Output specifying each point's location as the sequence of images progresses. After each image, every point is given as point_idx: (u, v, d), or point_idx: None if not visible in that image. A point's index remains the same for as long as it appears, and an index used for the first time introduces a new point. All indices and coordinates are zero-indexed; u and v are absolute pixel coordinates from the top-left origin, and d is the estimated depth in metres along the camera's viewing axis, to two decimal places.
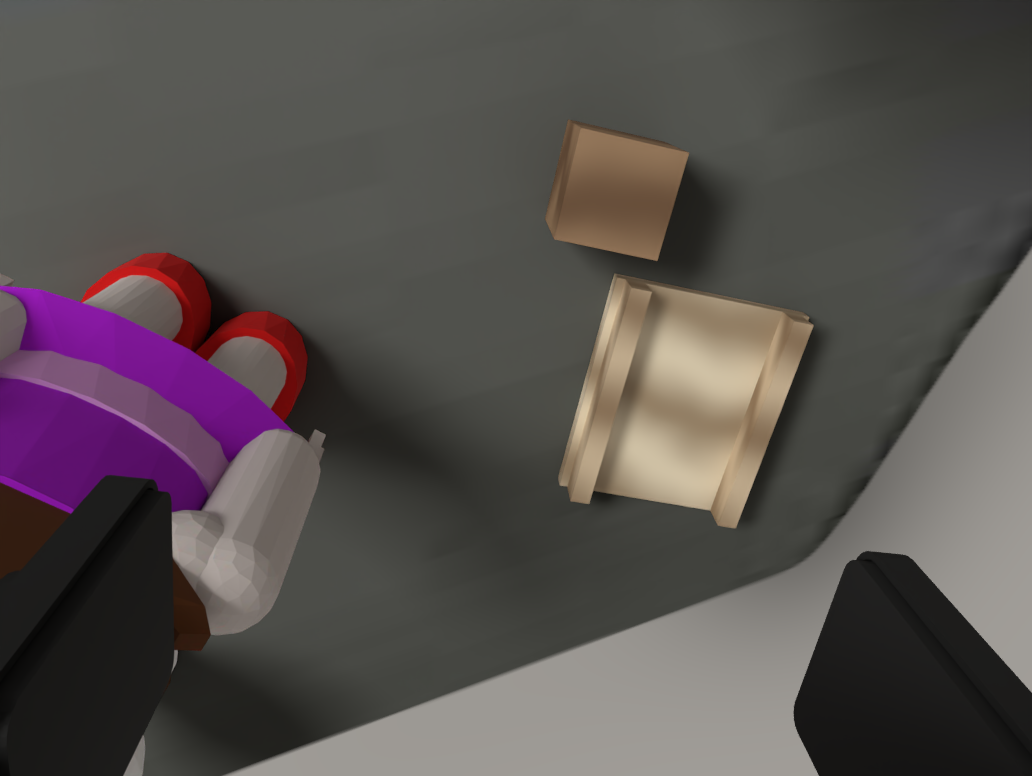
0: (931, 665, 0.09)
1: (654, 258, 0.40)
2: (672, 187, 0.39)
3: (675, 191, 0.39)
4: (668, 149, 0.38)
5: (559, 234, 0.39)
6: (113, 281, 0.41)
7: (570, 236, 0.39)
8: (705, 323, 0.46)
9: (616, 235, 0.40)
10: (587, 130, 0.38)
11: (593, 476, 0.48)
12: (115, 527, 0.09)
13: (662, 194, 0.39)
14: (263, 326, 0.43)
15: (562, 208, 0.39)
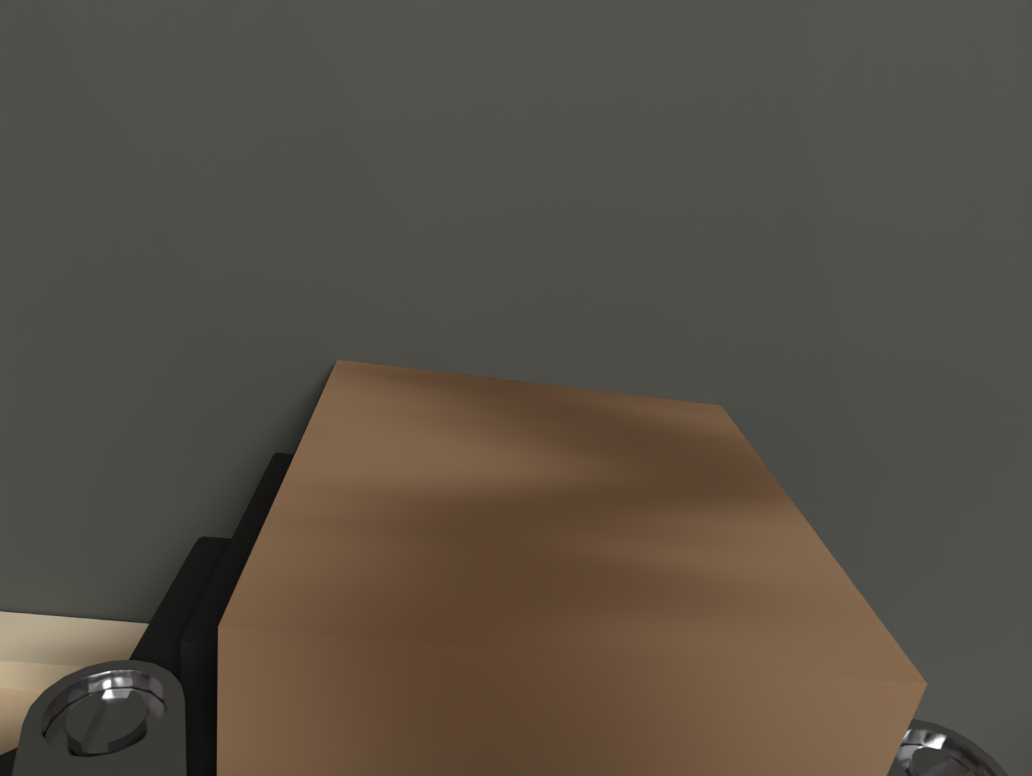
0: None
1: None
2: None
3: None
4: None
5: (258, 651, 0.06)
6: None
7: (261, 712, 0.06)
8: None
9: None
10: (907, 715, 0.06)
11: None
12: None
13: None
14: None
15: (437, 647, 0.06)
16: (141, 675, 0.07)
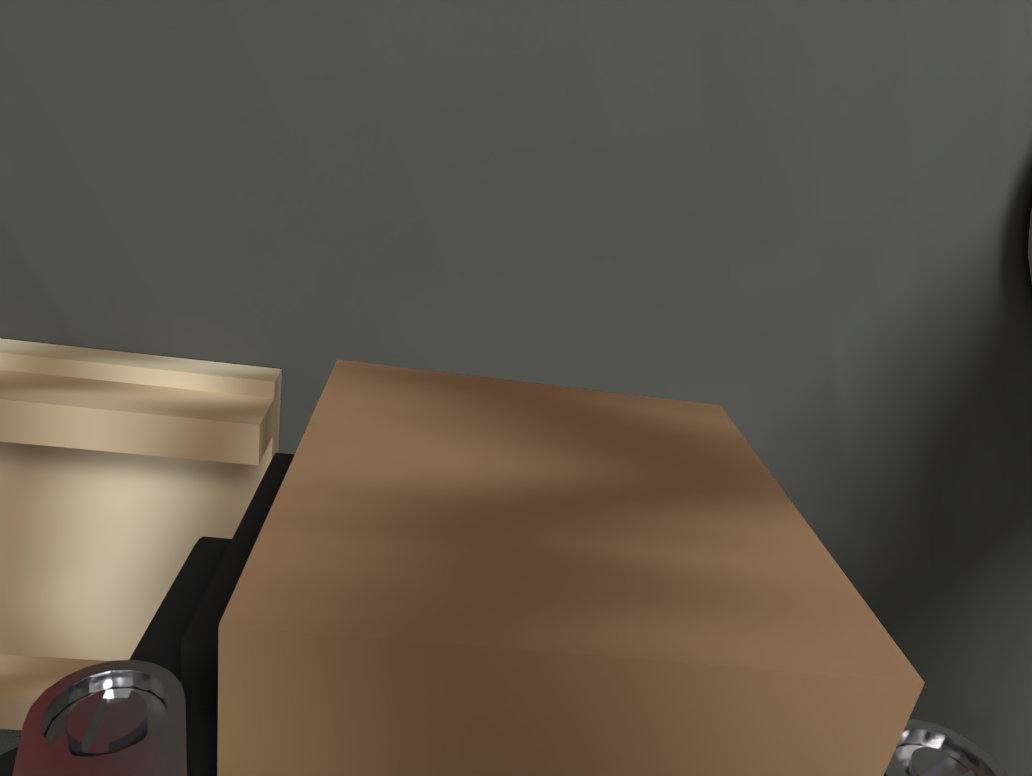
0: None
1: None
2: None
3: None
4: None
5: (258, 650, 0.06)
6: None
7: (261, 711, 0.06)
8: None
9: None
10: (905, 714, 0.06)
11: None
12: None
13: None
14: None
15: (436, 646, 0.06)
16: (142, 675, 0.07)
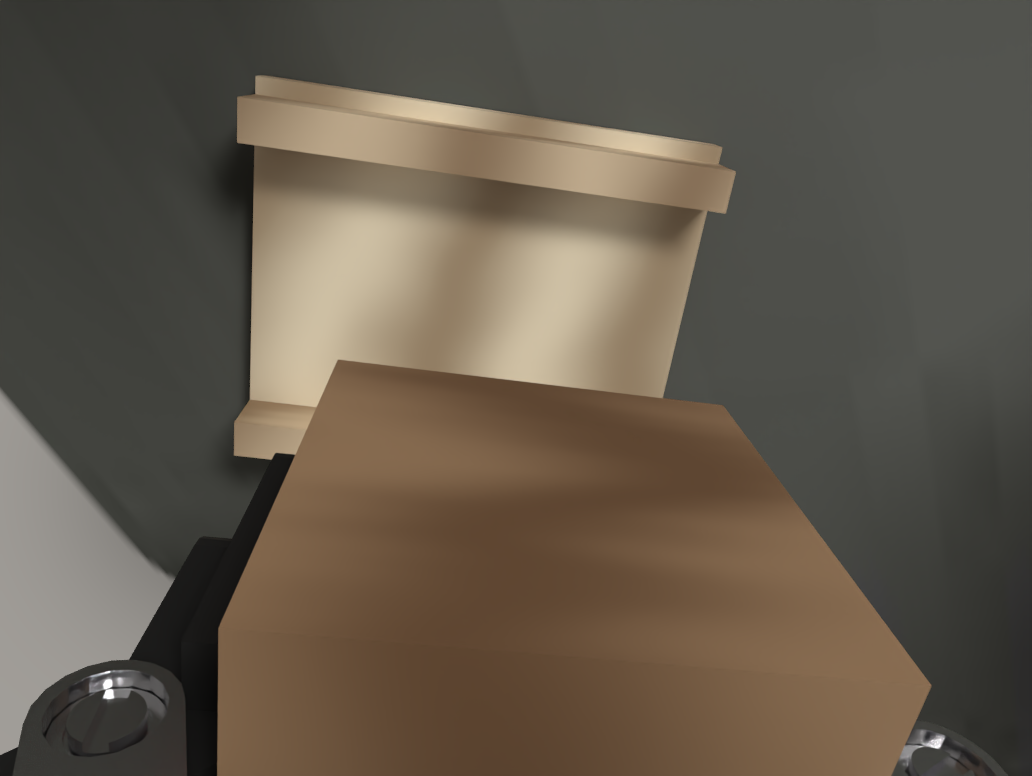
0: None
1: None
2: None
3: None
4: None
5: (258, 653, 0.06)
6: None
7: (262, 715, 0.06)
8: (631, 324, 0.26)
9: None
10: (911, 717, 0.06)
11: (309, 144, 0.22)
12: None
13: None
14: None
15: (438, 649, 0.06)
16: (141, 675, 0.07)
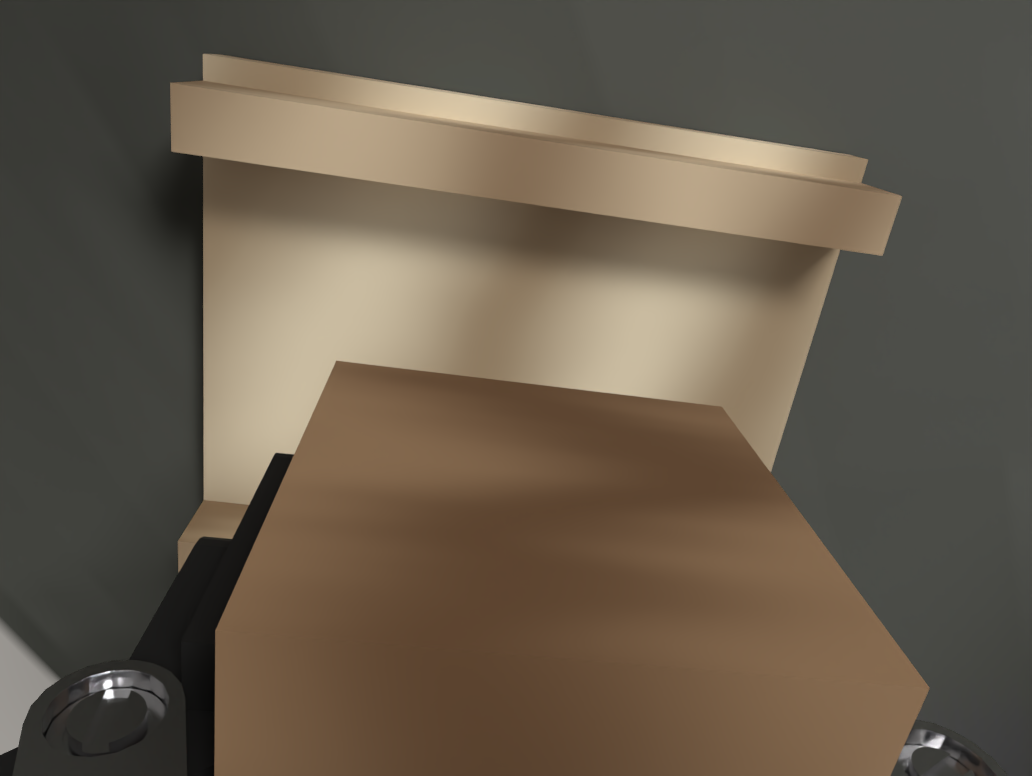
0: None
1: None
2: None
3: None
4: None
5: (255, 655, 0.06)
6: None
7: (260, 717, 0.06)
8: (726, 400, 0.19)
9: None
10: (909, 719, 0.06)
11: (279, 154, 0.15)
12: None
13: None
14: None
15: (435, 652, 0.06)
16: (142, 675, 0.07)
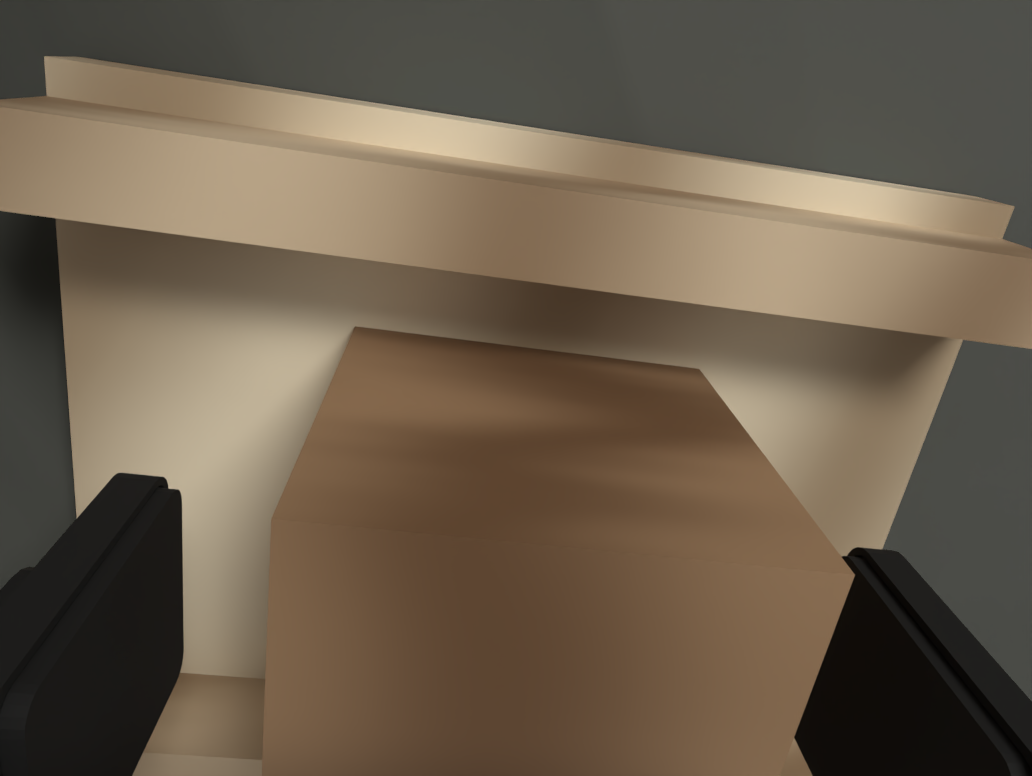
0: (919, 659, 0.09)
1: None
2: None
3: None
4: None
5: (303, 540, 0.07)
6: None
7: (304, 594, 0.07)
8: None
9: None
10: (840, 602, 0.08)
11: (149, 211, 0.09)
12: (127, 524, 0.09)
13: None
14: None
15: (449, 539, 0.07)
16: None
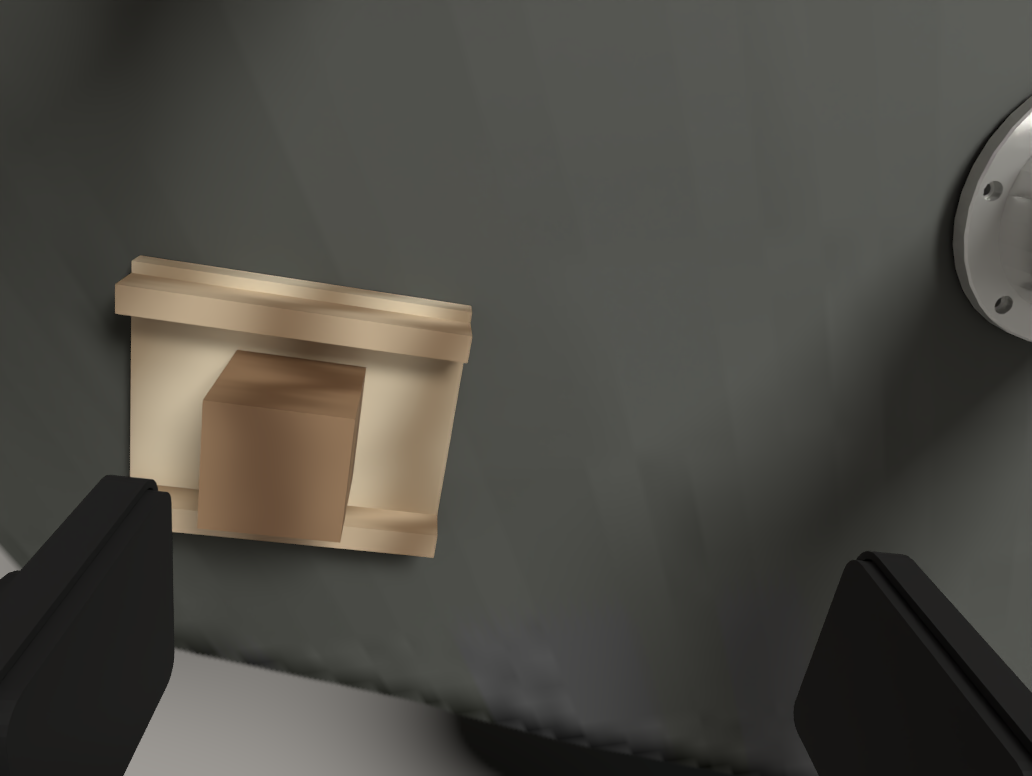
0: (931, 665, 0.09)
1: (199, 524, 0.30)
2: (295, 531, 0.31)
3: (291, 535, 0.31)
4: (341, 520, 0.31)
5: (210, 406, 0.28)
6: None
7: (210, 420, 0.29)
8: (415, 429, 0.36)
9: (222, 476, 0.30)
10: (352, 427, 0.29)
11: (167, 315, 0.31)
12: (115, 527, 0.09)
13: (284, 522, 0.31)
14: None
15: (247, 406, 0.29)
16: None
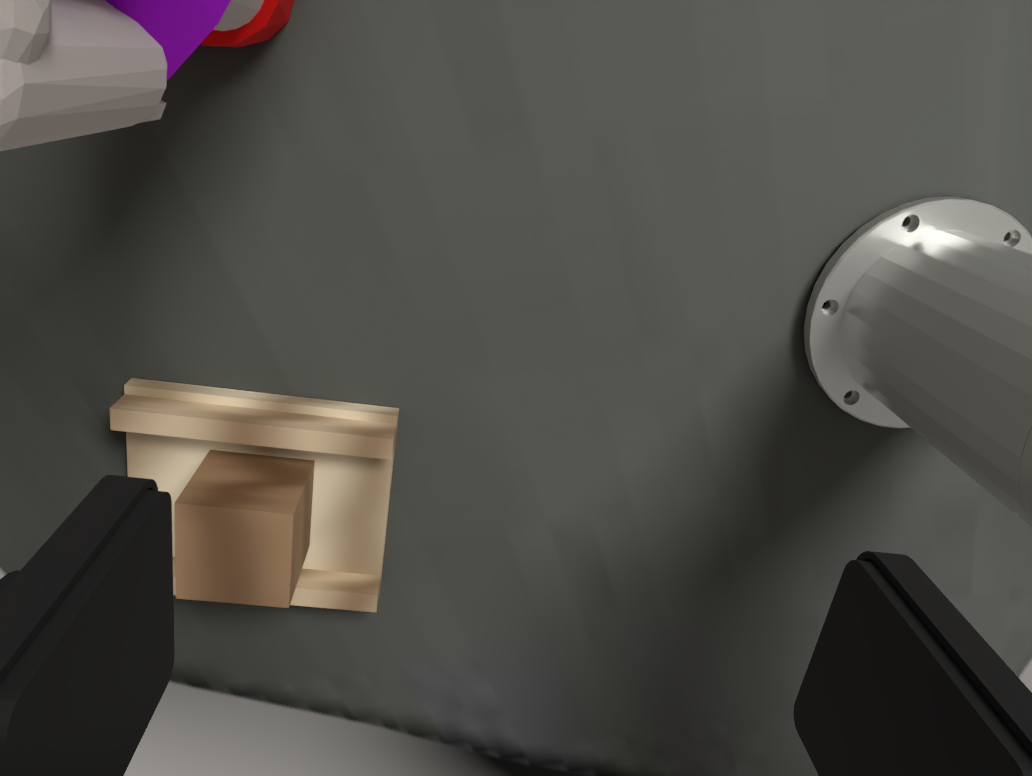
0: (931, 665, 0.09)
1: (178, 595, 0.39)
2: (253, 599, 0.39)
3: (250, 602, 0.39)
4: (288, 590, 0.39)
5: (180, 507, 0.37)
6: None
7: (181, 518, 0.37)
8: (358, 508, 0.44)
9: (193, 559, 0.38)
10: (292, 520, 0.37)
11: (151, 430, 0.39)
12: (115, 527, 0.08)
13: (244, 592, 0.39)
14: None
15: (209, 507, 0.37)
16: None
